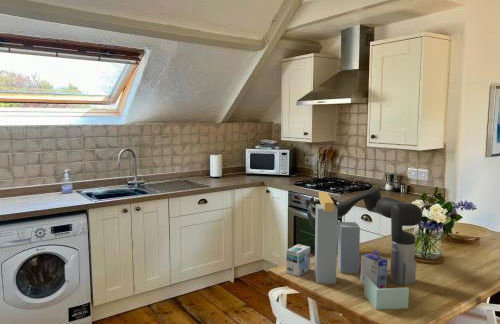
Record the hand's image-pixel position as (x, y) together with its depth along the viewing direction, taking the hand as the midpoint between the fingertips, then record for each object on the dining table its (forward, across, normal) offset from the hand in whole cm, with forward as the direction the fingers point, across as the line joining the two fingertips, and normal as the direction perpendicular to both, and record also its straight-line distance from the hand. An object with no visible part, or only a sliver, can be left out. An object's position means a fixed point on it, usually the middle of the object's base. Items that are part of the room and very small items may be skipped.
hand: (322, 199), depth 179 cm
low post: (-16, +12, +28) cm, 35 cm away
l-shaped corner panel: (+10, +20, +44) cm, 49 cm away
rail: (+8, 0, +5) cm, 10 cm away
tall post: (-6, 0, +34) cm, 35 cm away
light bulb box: (-14, -11, +30) cm, 35 cm away
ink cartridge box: (-2, +19, +37) cm, 42 cm away
